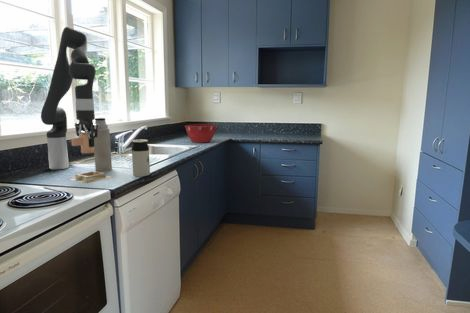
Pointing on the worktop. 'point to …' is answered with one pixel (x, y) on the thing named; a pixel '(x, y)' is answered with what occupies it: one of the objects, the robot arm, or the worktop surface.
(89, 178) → the dock
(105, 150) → the thermos bottle
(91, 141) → the robot arm
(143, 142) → the travel mug
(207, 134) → the mixing bowl
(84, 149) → the tabbed peach cylinder
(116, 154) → the worktop surface
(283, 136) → the worktop surface
